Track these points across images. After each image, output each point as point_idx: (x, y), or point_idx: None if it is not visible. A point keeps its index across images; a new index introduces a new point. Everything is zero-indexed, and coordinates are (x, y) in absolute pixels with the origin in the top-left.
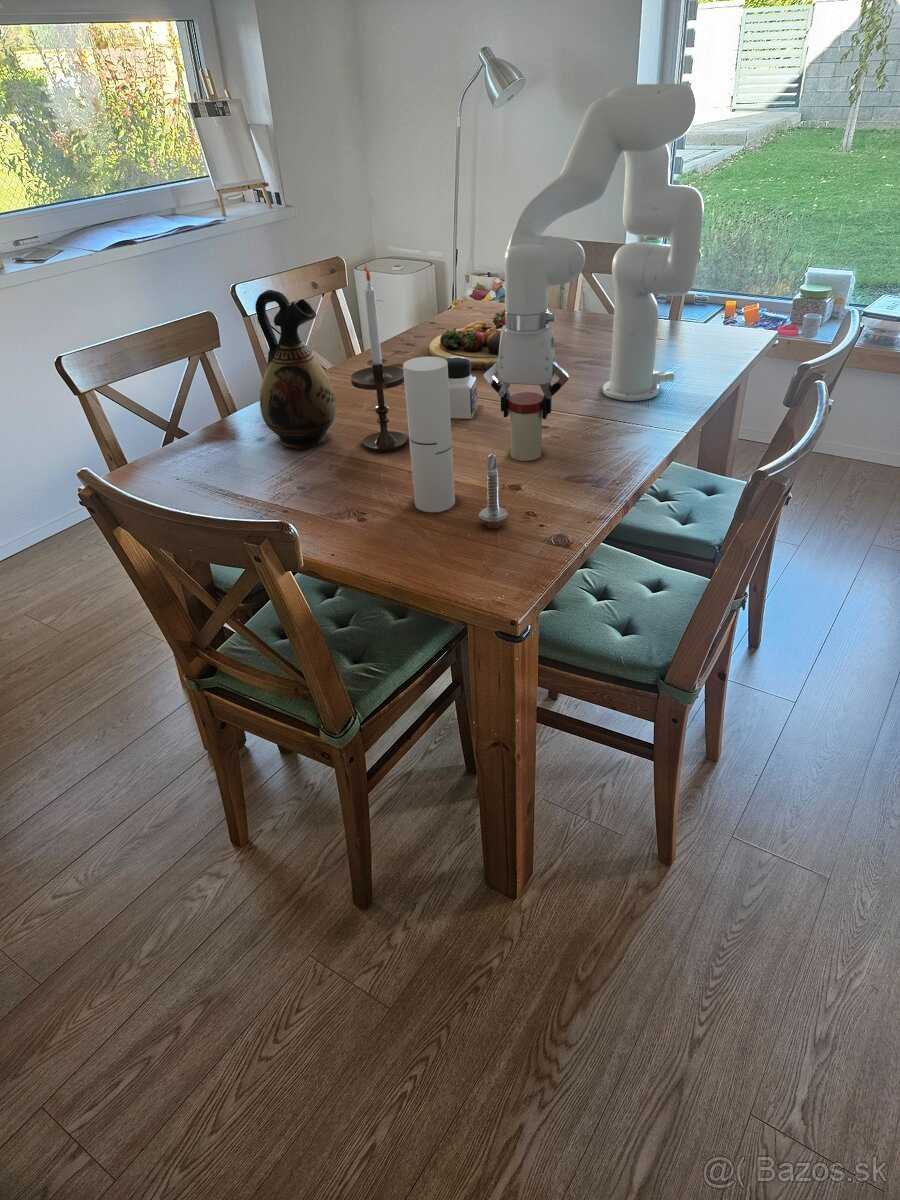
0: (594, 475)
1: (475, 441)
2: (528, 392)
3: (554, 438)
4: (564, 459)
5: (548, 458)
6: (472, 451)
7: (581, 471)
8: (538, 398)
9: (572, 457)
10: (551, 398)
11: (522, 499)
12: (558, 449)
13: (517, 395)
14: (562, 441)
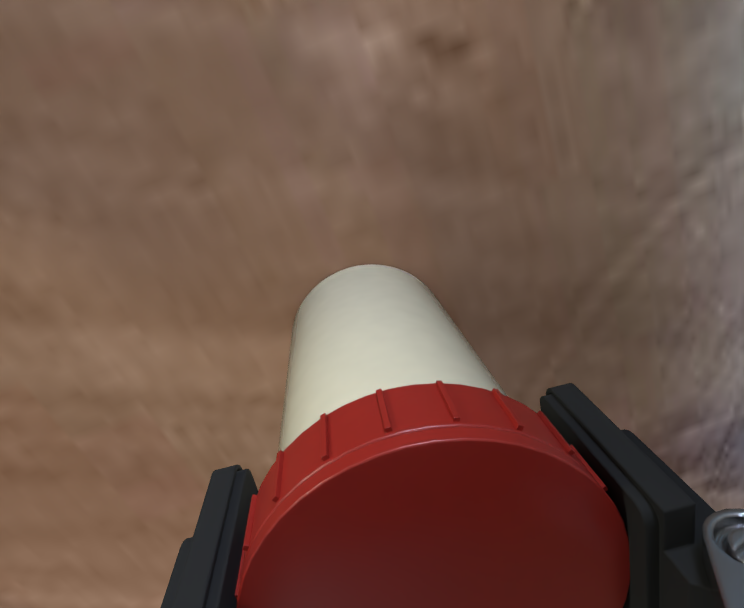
0: (708, 409)
1: (18, 282)
2: (400, 459)
3: (441, 69)
4: (561, 316)
5: (487, 334)
6: (92, 400)
7: (654, 397)
8: (572, 565)
9: (593, 282)
10: (706, 509)
11: None
12: (505, 216)
13: (310, 578)
14: (499, 99)
